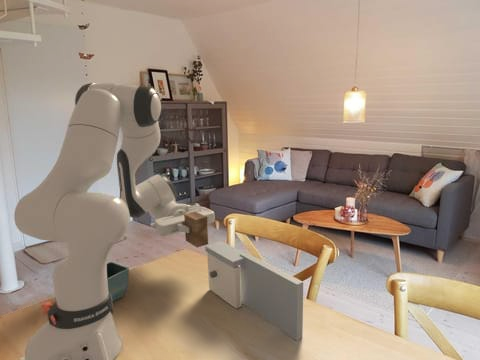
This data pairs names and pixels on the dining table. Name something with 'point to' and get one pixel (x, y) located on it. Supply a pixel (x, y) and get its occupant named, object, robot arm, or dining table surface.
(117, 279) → the flower pot
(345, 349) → the dining table surface
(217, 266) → the door panel
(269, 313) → the wall
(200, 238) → the walnut block
